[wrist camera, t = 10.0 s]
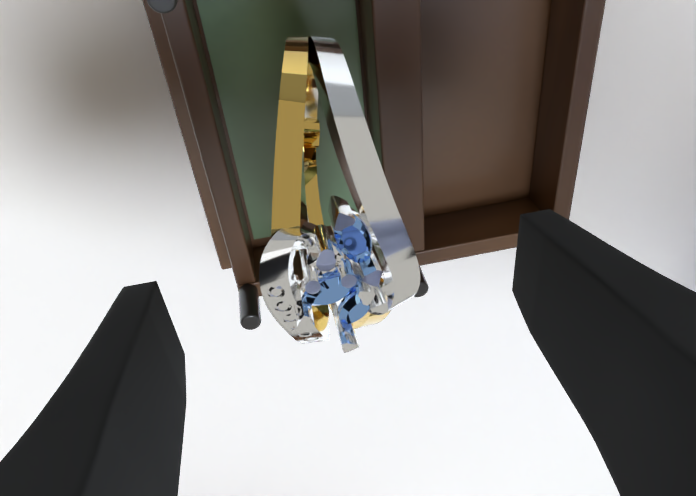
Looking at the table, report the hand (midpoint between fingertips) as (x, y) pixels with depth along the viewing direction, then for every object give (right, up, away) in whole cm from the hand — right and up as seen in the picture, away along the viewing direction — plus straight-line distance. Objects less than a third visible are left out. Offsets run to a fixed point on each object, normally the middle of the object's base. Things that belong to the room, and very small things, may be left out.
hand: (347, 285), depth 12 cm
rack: (+1, +5, +6) cm, 8 cm away
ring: (-1, +5, +6) cm, 7 cm away
